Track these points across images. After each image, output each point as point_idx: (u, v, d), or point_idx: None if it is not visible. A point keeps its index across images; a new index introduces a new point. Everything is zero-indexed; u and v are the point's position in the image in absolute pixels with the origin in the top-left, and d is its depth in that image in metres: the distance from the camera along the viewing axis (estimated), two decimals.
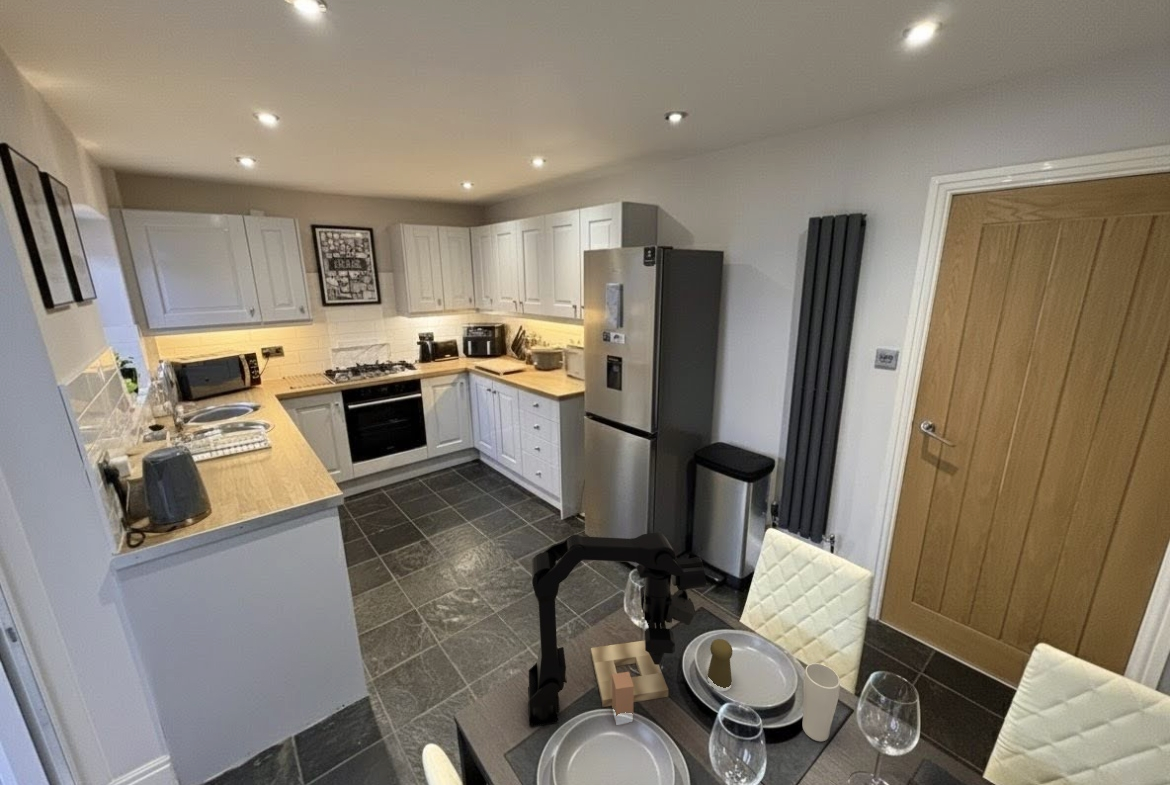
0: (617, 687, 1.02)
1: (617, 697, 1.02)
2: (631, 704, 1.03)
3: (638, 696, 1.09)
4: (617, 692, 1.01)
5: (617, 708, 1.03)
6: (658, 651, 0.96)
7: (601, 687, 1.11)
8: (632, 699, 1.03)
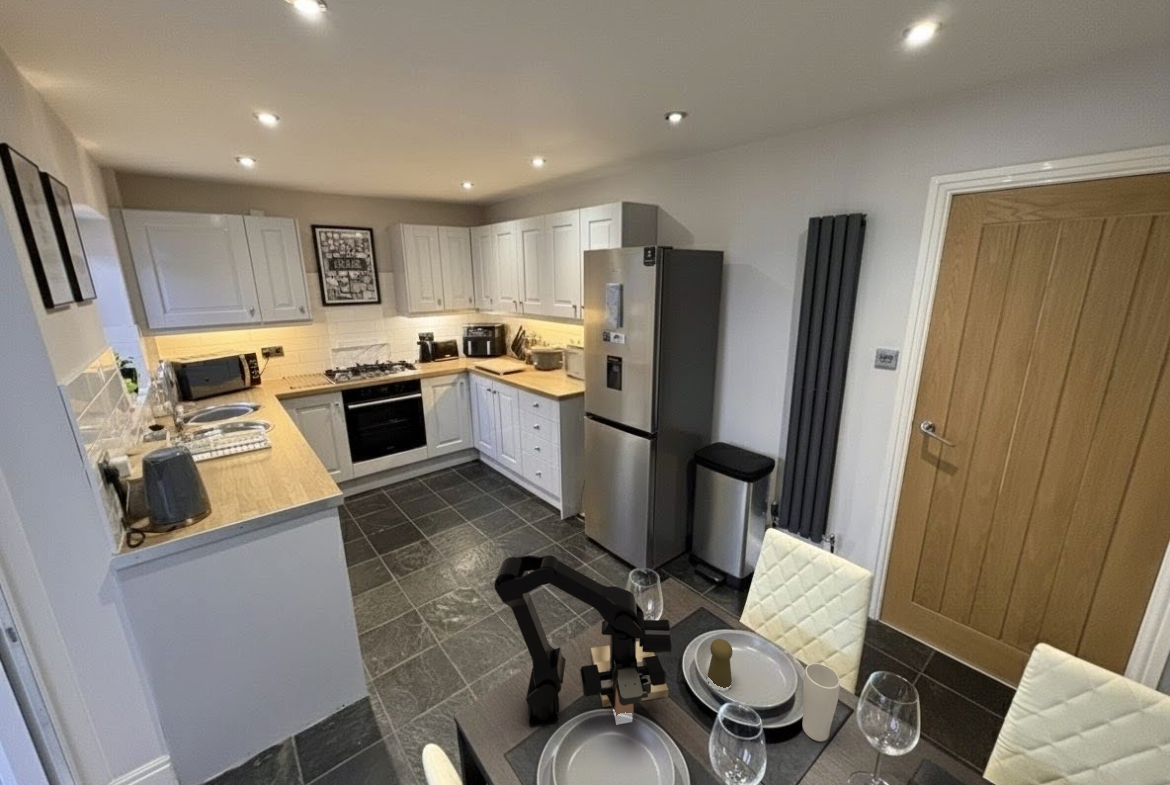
0: None
1: (617, 697, 1.02)
2: (631, 704, 1.03)
3: None
4: (617, 692, 1.01)
5: (617, 708, 1.03)
6: (581, 682, 1.02)
7: None
8: None
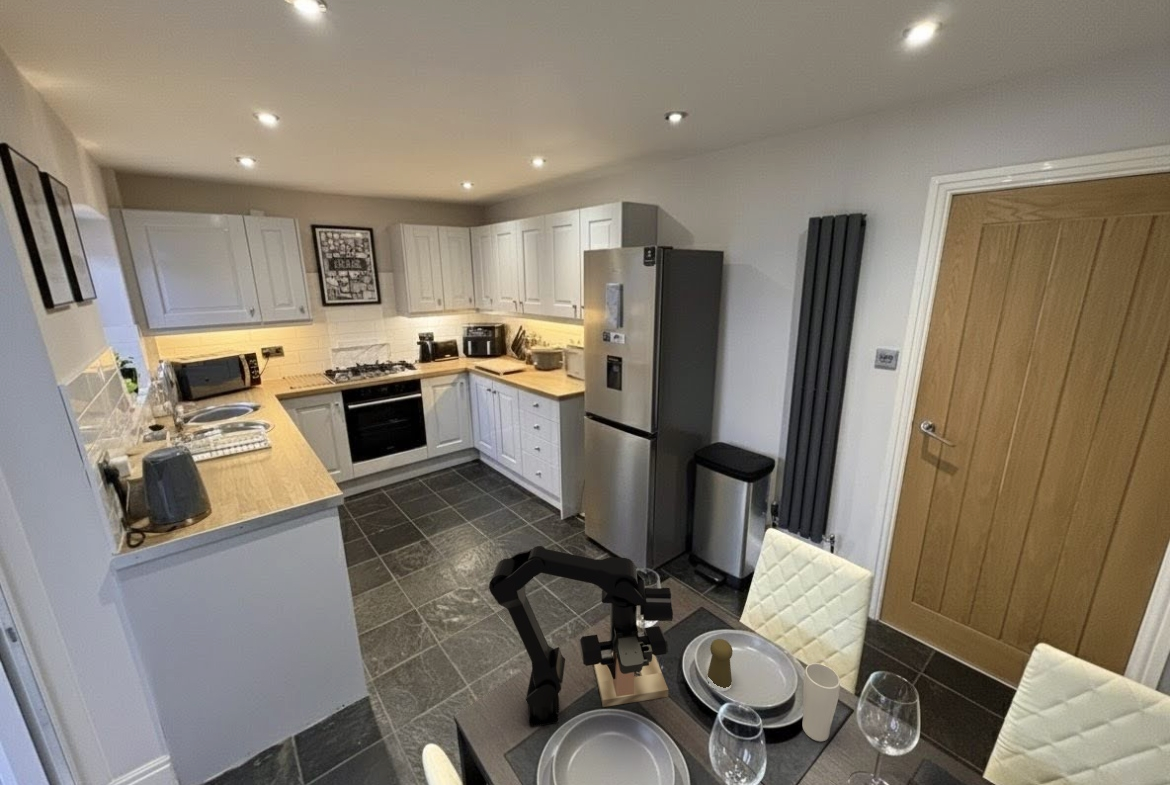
0: None
1: (618, 667, 1.00)
2: (632, 675, 1.01)
3: (638, 696, 1.09)
4: None
5: (618, 679, 1.01)
6: (581, 652, 1.00)
7: (601, 687, 1.11)
8: None
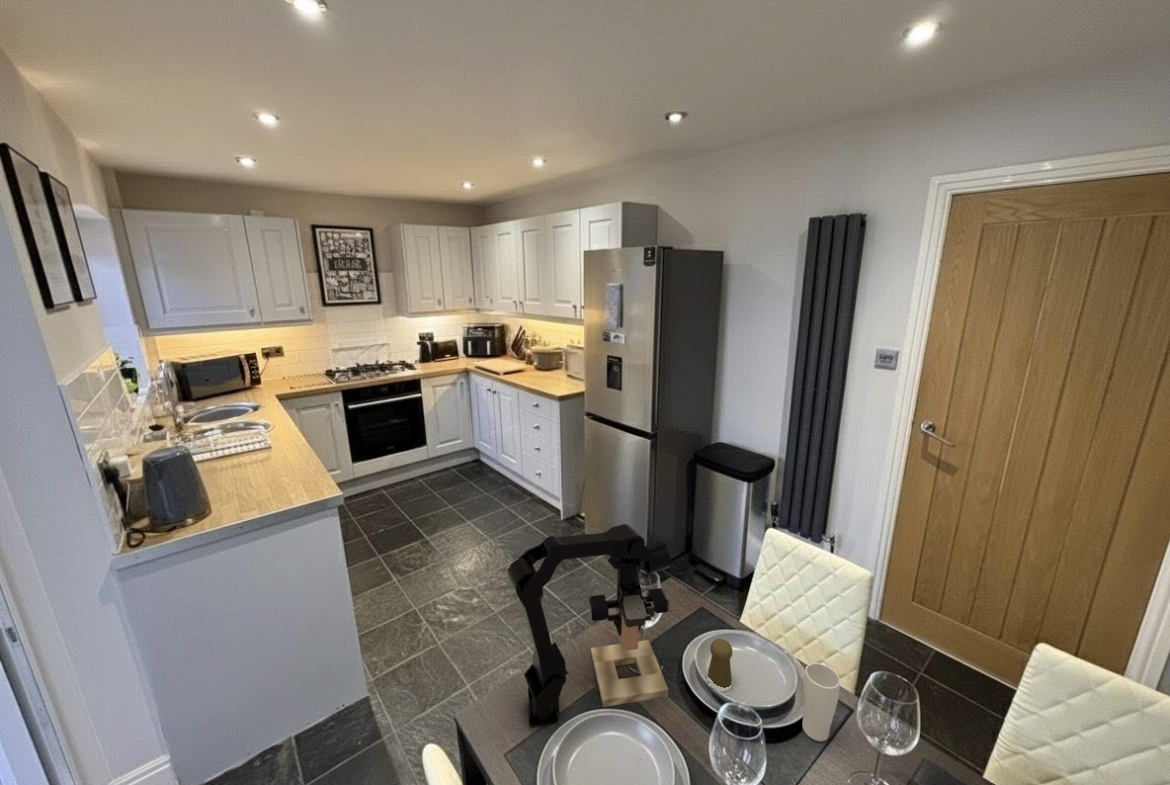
0: None
1: (623, 624, 1.10)
2: (636, 631, 1.11)
3: (638, 696, 1.09)
4: (623, 619, 1.09)
5: (623, 634, 1.10)
6: None
7: (601, 687, 1.11)
8: (637, 626, 1.10)
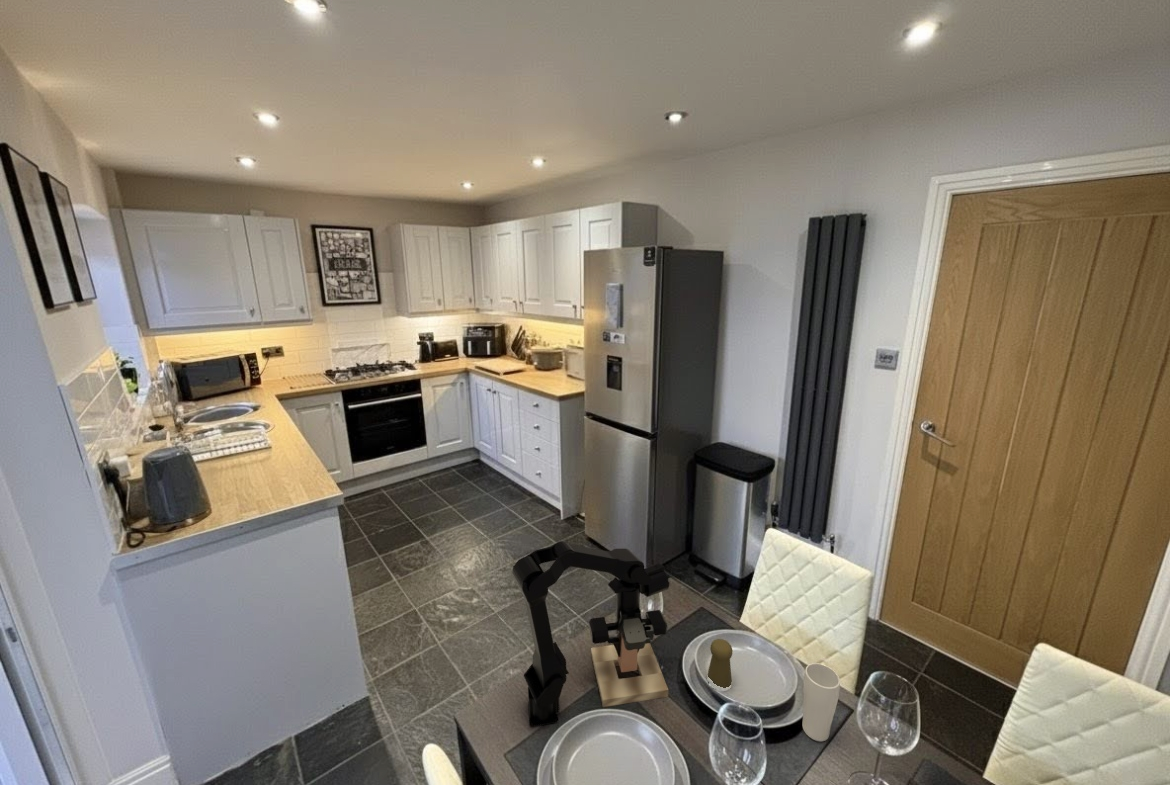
0: None
1: (623, 646, 1.12)
2: (635, 653, 1.13)
3: (638, 696, 1.09)
4: (623, 641, 1.12)
5: (622, 656, 1.13)
6: (590, 632, 1.13)
7: (601, 687, 1.11)
8: None
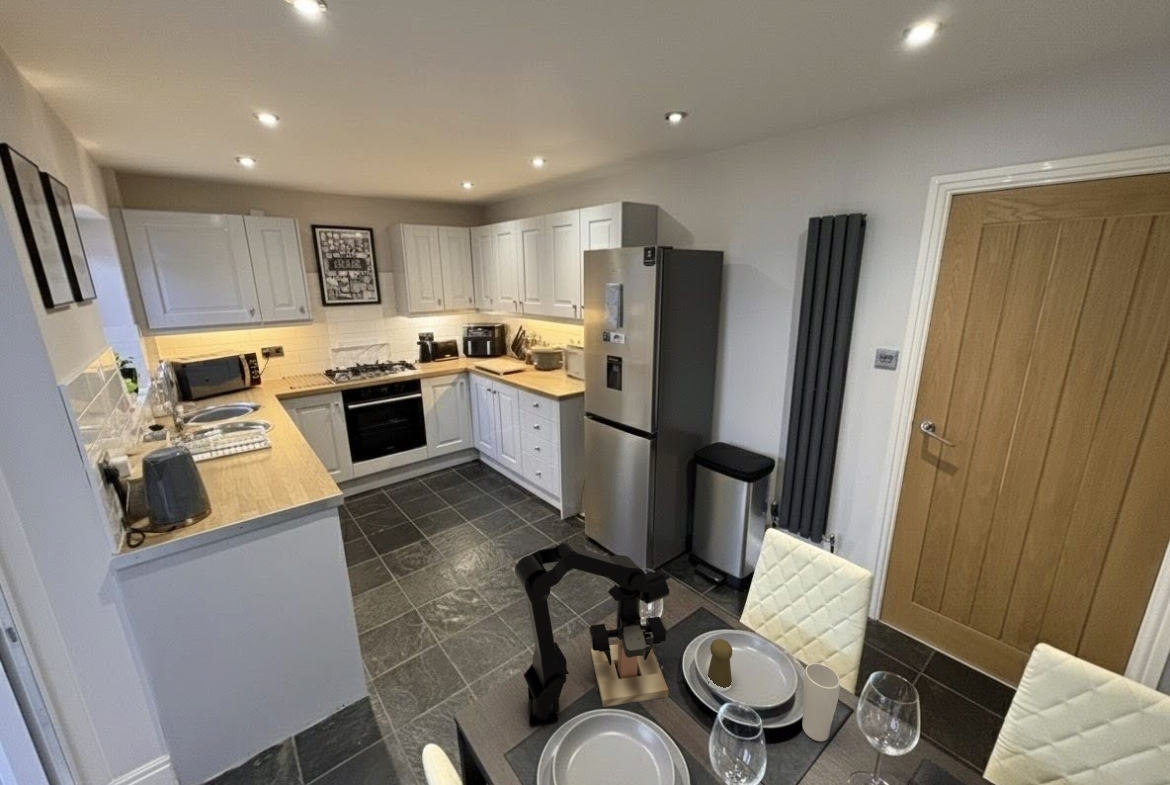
0: (622, 647, 1.13)
1: (622, 656, 1.13)
2: (635, 663, 1.14)
3: (638, 696, 1.09)
4: (622, 651, 1.13)
5: (622, 666, 1.14)
6: (590, 639, 1.13)
7: (601, 687, 1.11)
8: (636, 658, 1.14)
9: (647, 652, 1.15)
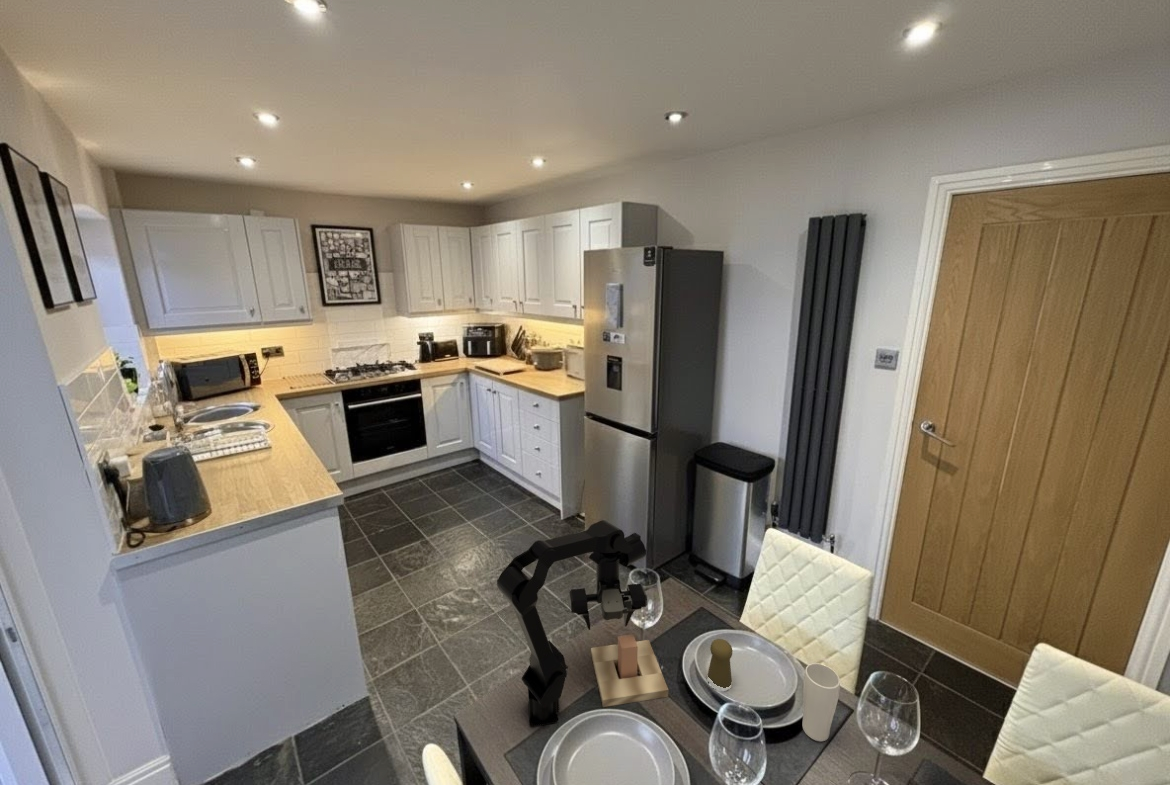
0: (622, 647, 1.13)
1: (622, 656, 1.13)
2: (635, 663, 1.14)
3: (638, 696, 1.09)
4: (622, 651, 1.13)
5: (622, 666, 1.14)
6: None
7: (601, 687, 1.11)
8: (636, 658, 1.14)
9: (627, 618, 1.15)
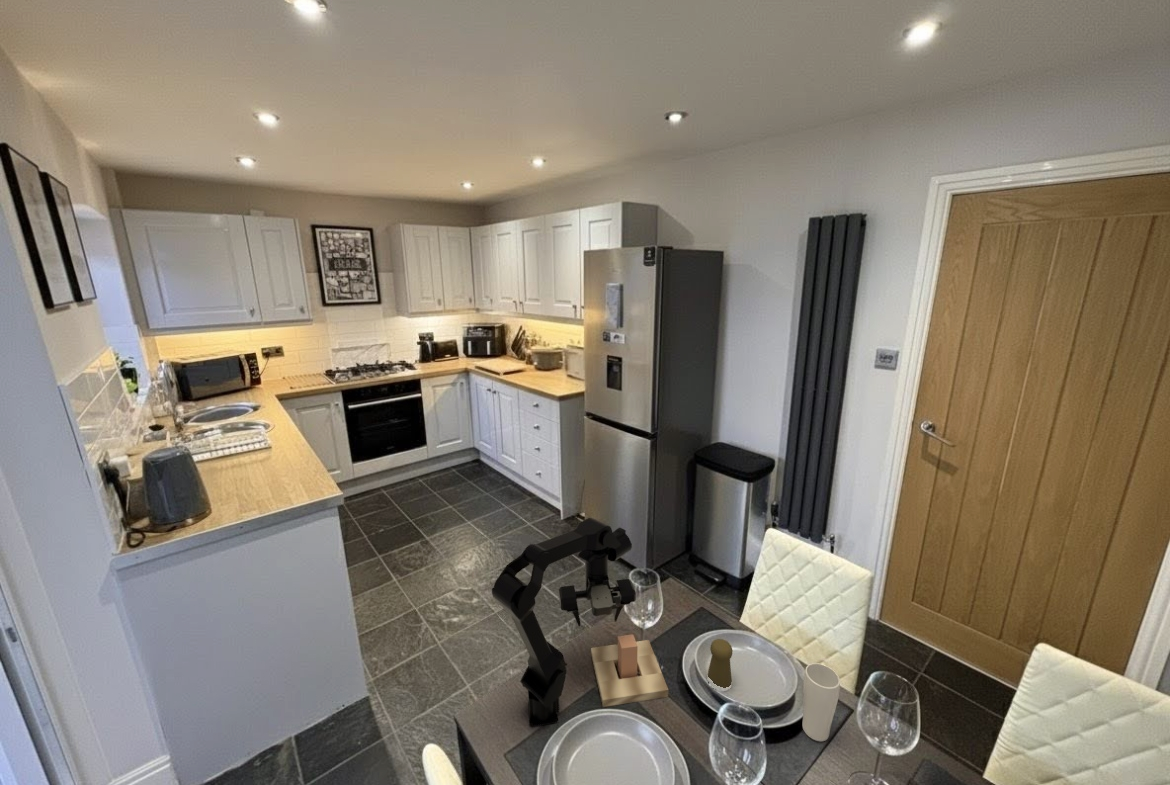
0: (622, 647, 1.13)
1: (622, 656, 1.13)
2: (635, 663, 1.14)
3: (638, 696, 1.09)
4: (622, 651, 1.13)
5: (622, 666, 1.14)
6: (559, 600, 1.14)
7: (601, 687, 1.11)
8: (636, 658, 1.14)
9: (617, 613, 1.16)
